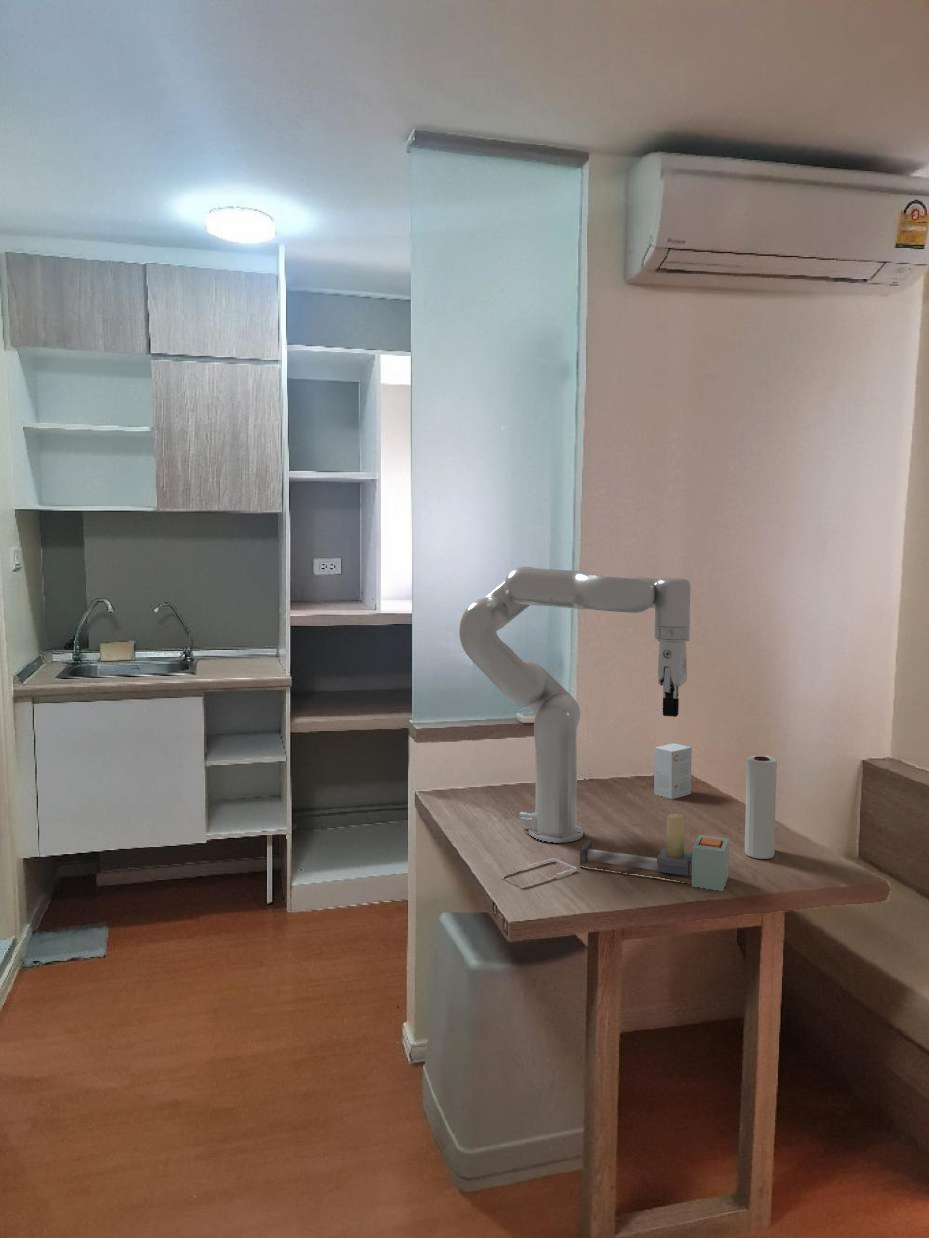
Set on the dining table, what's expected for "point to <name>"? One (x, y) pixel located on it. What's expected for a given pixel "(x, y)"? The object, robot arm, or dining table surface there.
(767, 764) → the paper towel roll
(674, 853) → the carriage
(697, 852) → the green button housing
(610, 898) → the dining table surface
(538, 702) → the robot arm
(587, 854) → the rail base
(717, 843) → the button
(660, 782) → the small box
